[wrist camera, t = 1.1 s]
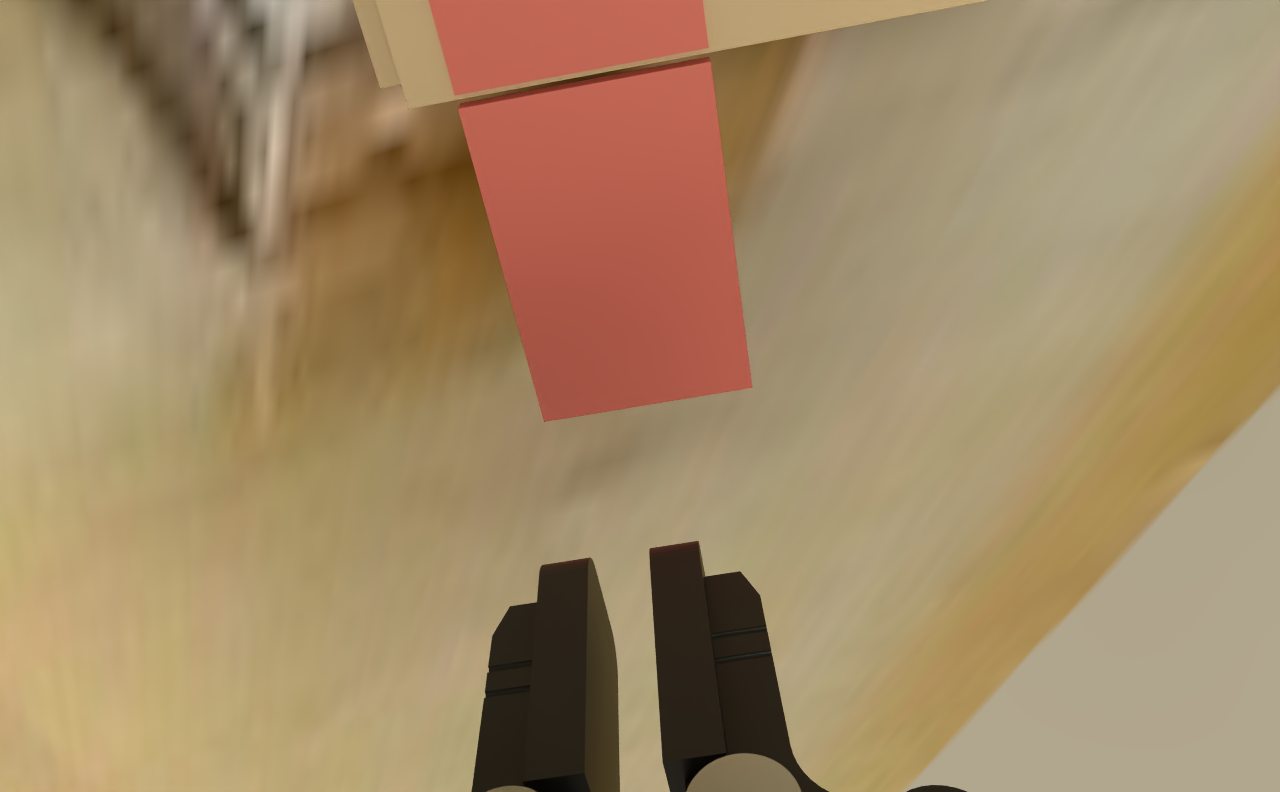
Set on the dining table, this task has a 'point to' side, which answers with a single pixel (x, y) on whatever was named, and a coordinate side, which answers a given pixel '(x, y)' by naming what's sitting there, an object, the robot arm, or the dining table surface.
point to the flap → (607, 176)
